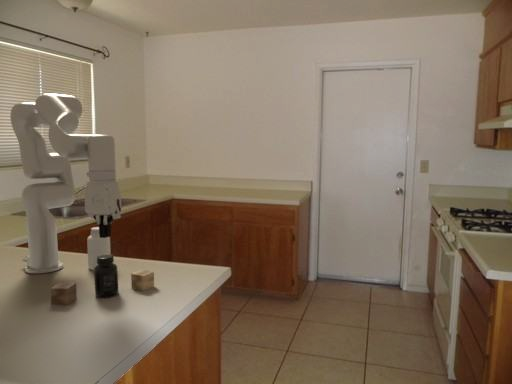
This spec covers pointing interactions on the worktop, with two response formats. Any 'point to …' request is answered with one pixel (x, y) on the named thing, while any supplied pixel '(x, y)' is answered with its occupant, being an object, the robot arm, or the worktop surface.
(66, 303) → the walnut block
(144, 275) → the maple block
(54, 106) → the robot arm
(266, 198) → the worktop surface
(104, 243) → the pill bottle
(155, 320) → the worktop surface
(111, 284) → the supplement bottle
